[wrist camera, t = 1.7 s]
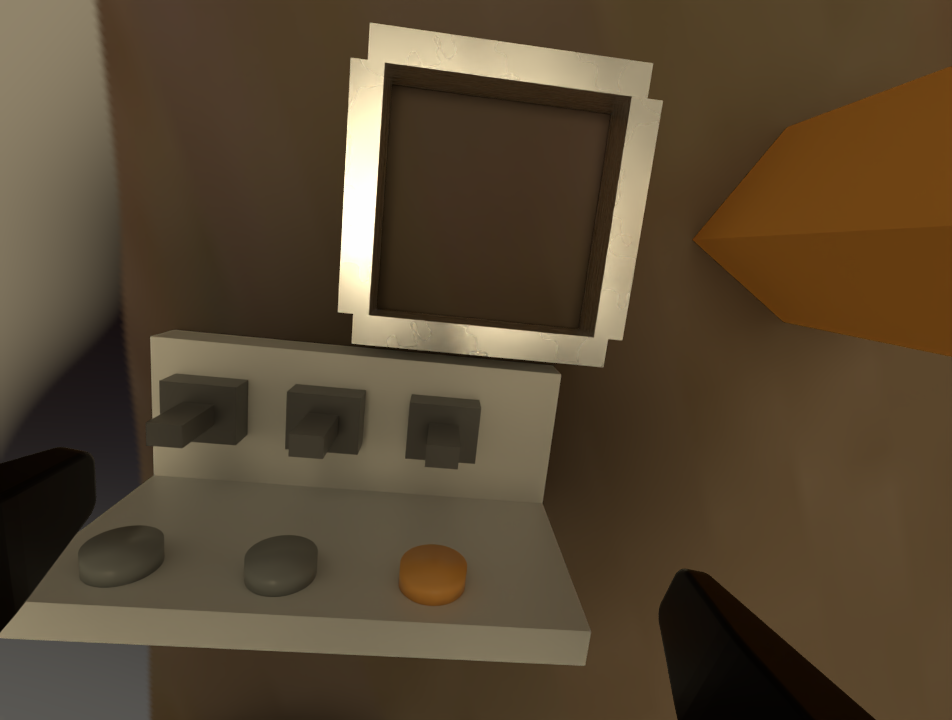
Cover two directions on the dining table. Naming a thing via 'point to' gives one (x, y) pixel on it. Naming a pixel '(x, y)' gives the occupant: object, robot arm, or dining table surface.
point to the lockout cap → (852, 220)
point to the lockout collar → (516, 79)
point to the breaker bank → (328, 511)
